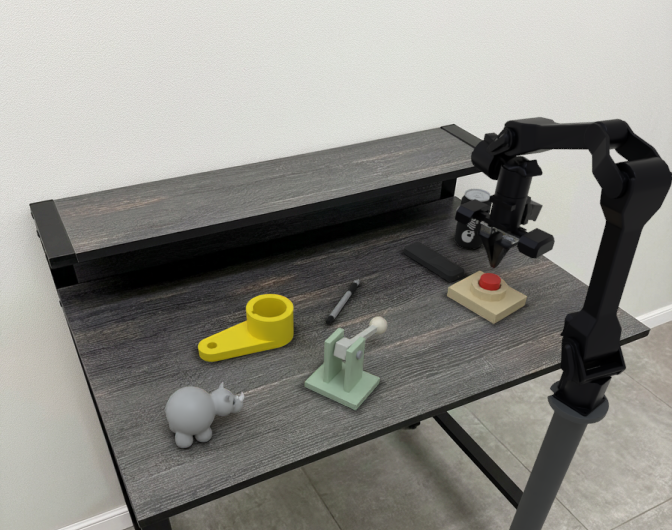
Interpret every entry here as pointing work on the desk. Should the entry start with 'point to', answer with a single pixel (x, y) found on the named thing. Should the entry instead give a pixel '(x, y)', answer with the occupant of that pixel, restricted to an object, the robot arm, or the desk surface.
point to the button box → (486, 298)
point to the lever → (375, 327)
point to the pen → (342, 302)
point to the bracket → (343, 374)
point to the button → (490, 281)
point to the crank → (253, 330)
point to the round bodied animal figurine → (198, 412)
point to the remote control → (434, 261)
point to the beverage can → (468, 232)
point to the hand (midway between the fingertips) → (493, 267)
